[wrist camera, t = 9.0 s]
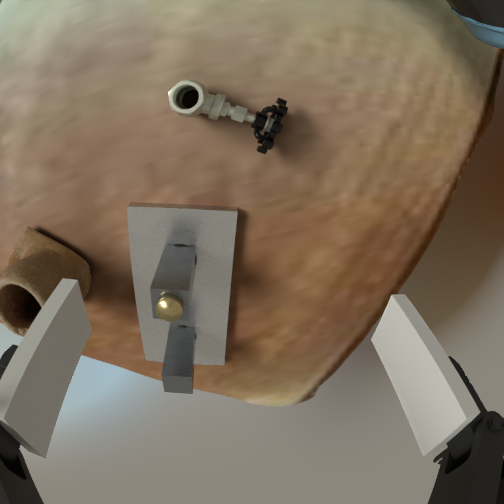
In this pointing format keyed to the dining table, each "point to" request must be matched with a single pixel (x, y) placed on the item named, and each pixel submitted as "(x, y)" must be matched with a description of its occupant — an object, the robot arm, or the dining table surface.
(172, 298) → the block
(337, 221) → the dining table surface
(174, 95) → the valve
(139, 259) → the grey base with knobs
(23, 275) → the stone cup
